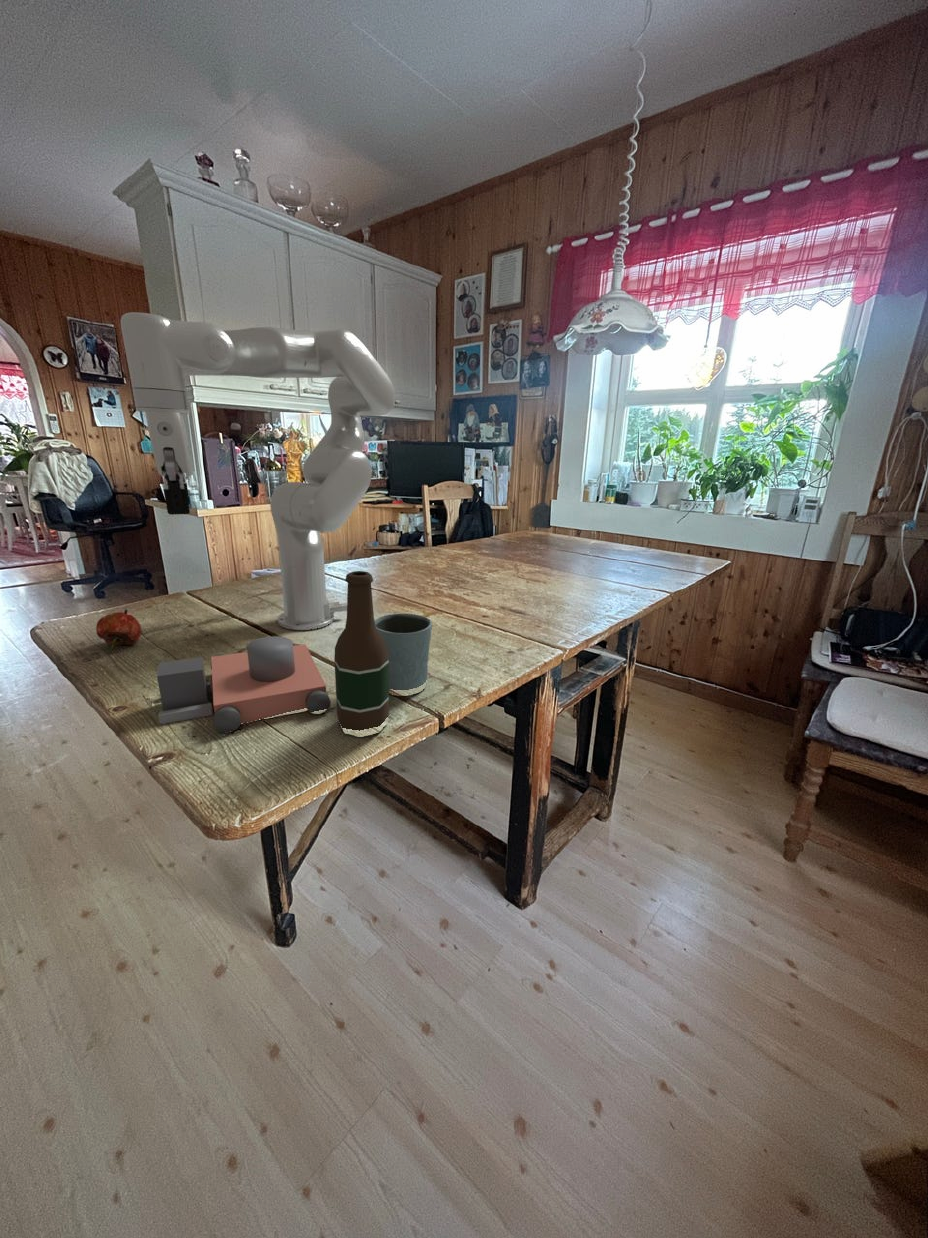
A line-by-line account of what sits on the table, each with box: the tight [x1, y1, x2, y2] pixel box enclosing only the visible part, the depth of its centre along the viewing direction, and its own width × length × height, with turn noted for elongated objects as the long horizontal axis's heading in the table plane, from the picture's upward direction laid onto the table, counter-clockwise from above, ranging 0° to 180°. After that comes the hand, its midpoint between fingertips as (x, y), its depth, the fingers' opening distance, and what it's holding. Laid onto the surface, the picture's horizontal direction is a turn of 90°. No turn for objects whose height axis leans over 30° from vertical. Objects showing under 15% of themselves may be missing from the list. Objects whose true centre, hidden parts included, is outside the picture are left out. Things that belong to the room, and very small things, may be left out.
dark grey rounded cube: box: [156, 656, 210, 711], centre depth 76 cm, size 6×5×7 cm
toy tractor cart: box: [157, 635, 332, 734], centre depth 79 cm, size 24×21×9 cm
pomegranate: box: [95, 609, 143, 655], centre depth 96 cm, size 7×7×10 cm
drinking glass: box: [374, 613, 433, 690], centre depth 85 cm, size 10×10×12 cm
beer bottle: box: [333, 570, 390, 731], centre depth 70 cm, size 8×8×24 cm
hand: (179, 509), depth 85 cm, fingers open, 9 cm apart
